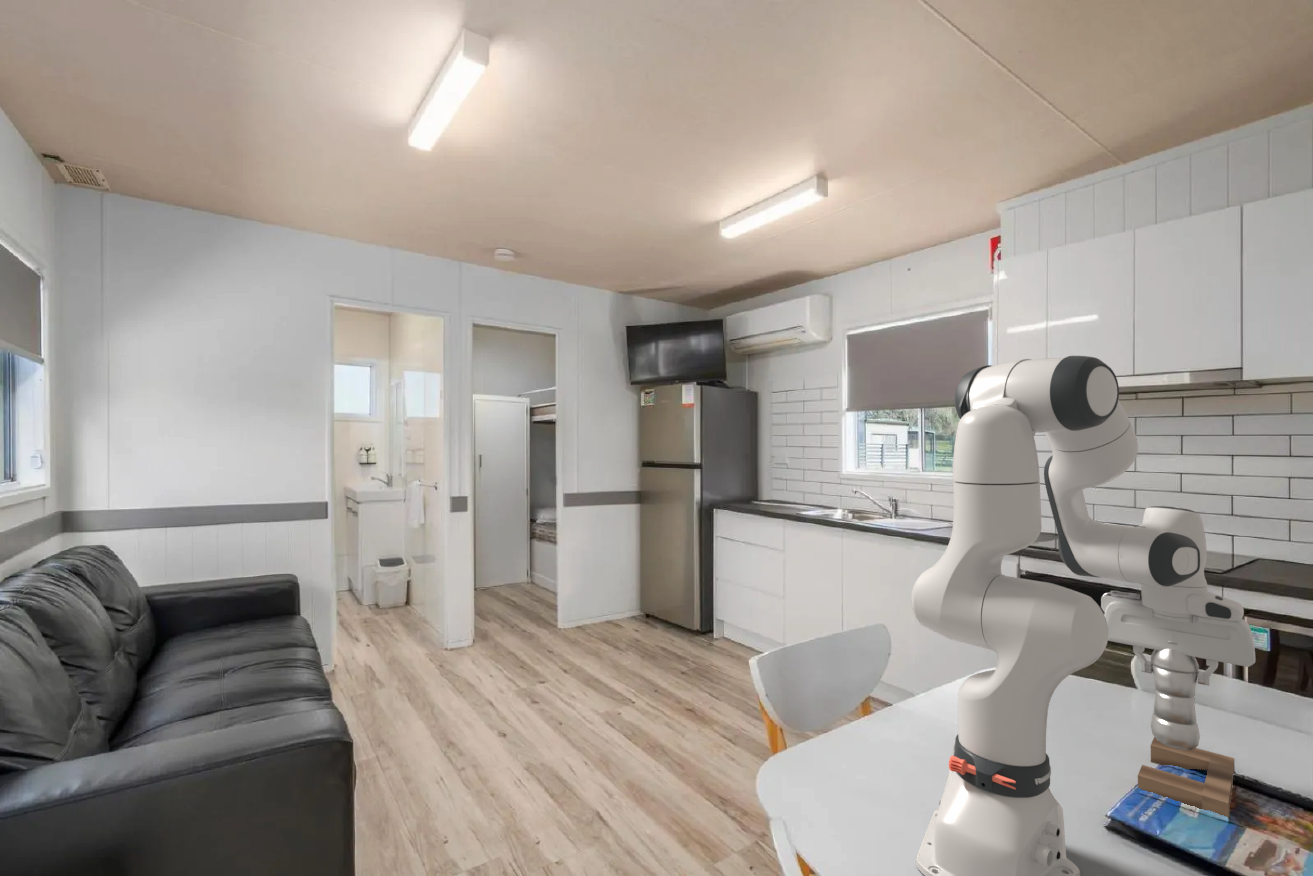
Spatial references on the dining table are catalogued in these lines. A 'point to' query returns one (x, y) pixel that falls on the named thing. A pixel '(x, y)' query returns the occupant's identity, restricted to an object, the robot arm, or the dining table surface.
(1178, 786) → the notched board
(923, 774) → the dining table surface
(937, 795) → the dining table surface
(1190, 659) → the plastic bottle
